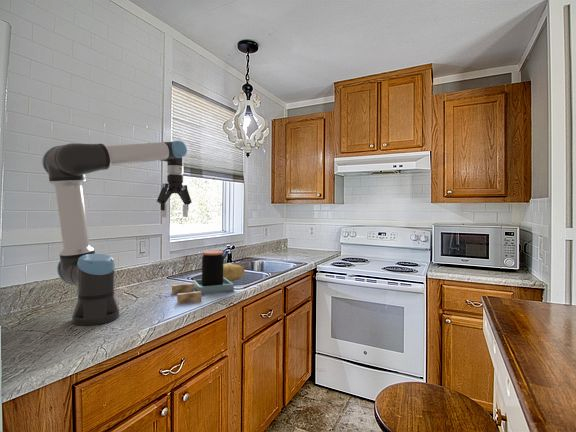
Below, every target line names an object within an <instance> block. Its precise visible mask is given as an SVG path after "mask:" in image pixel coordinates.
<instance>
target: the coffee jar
mask: <svg viewBox="0 0 576 432" xmlns="http://www.w3.org/2000/svg"><path fill="white" fill-rule="evenodd" d="M201 254H202V257H201V279H202V286H203V287H204V286H214V285H223V265H224V251H221V250H206V251H205V250H204V251H202V253H201Z"/></svg>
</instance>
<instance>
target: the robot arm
mask: <svg viewBox="0 0 576 432" xmlns="http://www.w3.org/2000/svg"><path fill="white" fill-rule="evenodd" d="M187 153H188V148H187V145H186V143H185V142H184V141H181V140H173V141H162V142H146V143H145V142H144V143H132V144H130V143H129V144H118V145H117V144H115V145H105V144H104V143H77V142H76V143H75V142H73V143H72V142H71V143H66V144H61V145H57V146H56V145H55V146H53V147H51V148H49V149H48V150H46V151H45V153H44V154H43V156H42V158H41V159H42V160H41V161H42V162H41V164H42V167H43V169H44V171H45V172H46V173H47V174H48V181H49V183H50V184H51V185H53V186H54V188H55V195H56V201H57V202H56V203H57V204H56V205H57V210H58V218H59V225H60V231H61V232H60V233H61V240H62V246H63V249H62V250H61V251H60V252H59V259H60V260H59V262H58V264H57V267H56V270H57V271H56V272H57V275H58V277H59V278H60V280H62V281H63V282H64V283H67V284H68V285H71V286H76V287H77V302H76V305H75V307H74V310H73V313H72V315H71V323H72V324H74V325H76V326H84V327H85V326H96V325H102V324H106V323H110V322H113V321H114V320H116V319H119V317H120V308H119V306H118V302H117V300H116V297H115V269H116V264H115V260H114V257H113V256H111V255H108V254H106V253H105V254H101V253H96V251H95V248H94V247H93V246H91V245H90V239H89V233H88V232H89V231H88V222H87V216H86V215H87V214H86V213H87V212H86V206H85V199H84V192H83V191H84V190H83V185H84V183H85V182H86V181H87V178H86V175H87V174H88V175H89V174H91V173H95V172H99V171H105V170H109V168H111V167H113V166H123V165H130V164H131V165H133V164H139V163H147V162H154V161H155V162H156V161H158V162H159V161H160V162H166V163H167V176H166V177H167V178H166V179H167V180H166V181H167V182H166V183H164V182H163V183H162V187H161V190H160V193H159V195H158V197H157V200H156V203H158V204H160V211H161V218H167V216H168V215H167V213H168V211H167V210H168V203H167V201H168V200H169V199H170V197H171V195H172V194H177V195H178V196H179V197H180V199H181V201H182V203H183V204H182V218H188V215H189V214H188V213H189V205H190V204H192V199H191V196H190V192H189V190H188V185H187V184H183V183H184V158H185V157H186V155H187Z"/></svg>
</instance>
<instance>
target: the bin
mask: <svg viewBox="0 0 576 432" xmlns="http://www.w3.org/2000/svg"><path fill="white" fill-rule="evenodd" d="M192 283H193V284H194V291H195V292H198V291H201V295H208V294H209V295H210V294H219V293H228V292H227V291H229V292H234V291H233V290H234V289H235V283H233V281H229V280H227V279H226V278H225V277H223V285H214V286H204V287H203V286H202V278H201V279H200V278H199V279H192Z"/></svg>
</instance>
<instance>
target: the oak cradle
mask: <svg viewBox="0 0 576 432" xmlns="http://www.w3.org/2000/svg"><path fill="white" fill-rule="evenodd" d="M171 294H172V295H177V298H176V299H177V300H176V301H177V305H180V304H188V303H190V304H191V303H197V302H202V294H201V291H198V292H197V291H195V289H194V284H193V282H191V283H190V282H189V283H178V284H172V285H171Z"/></svg>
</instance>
